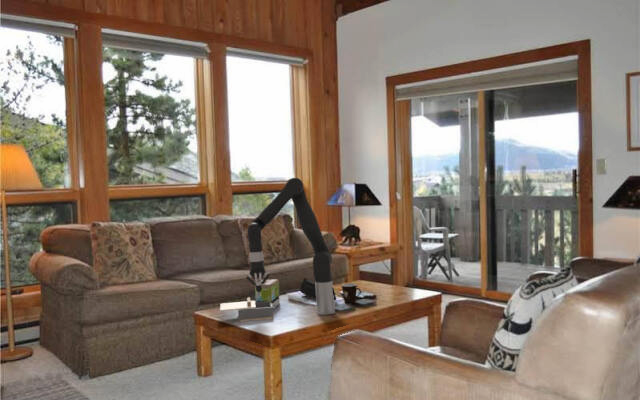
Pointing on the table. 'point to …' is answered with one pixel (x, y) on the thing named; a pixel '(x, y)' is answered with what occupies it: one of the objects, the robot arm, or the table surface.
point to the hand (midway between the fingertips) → (259, 291)
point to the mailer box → (257, 312)
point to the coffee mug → (350, 292)
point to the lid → (238, 305)
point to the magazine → (310, 289)
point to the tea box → (268, 292)
